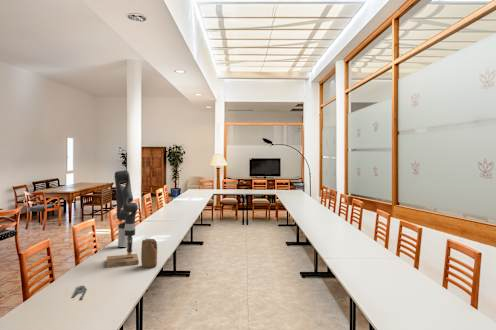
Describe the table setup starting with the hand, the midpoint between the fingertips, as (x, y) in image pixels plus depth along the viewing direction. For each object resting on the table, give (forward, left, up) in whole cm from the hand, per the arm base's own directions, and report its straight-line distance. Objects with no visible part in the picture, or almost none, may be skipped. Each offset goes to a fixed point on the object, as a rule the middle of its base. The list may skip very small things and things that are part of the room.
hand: (129, 251), depth 243 cm
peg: (0, 0, -3) cm, 3 cm away
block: (+16, +13, -8) cm, 22 cm away
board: (0, -5, -8) cm, 9 cm away
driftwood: (+50, -30, -9) cm, 59 cm away
